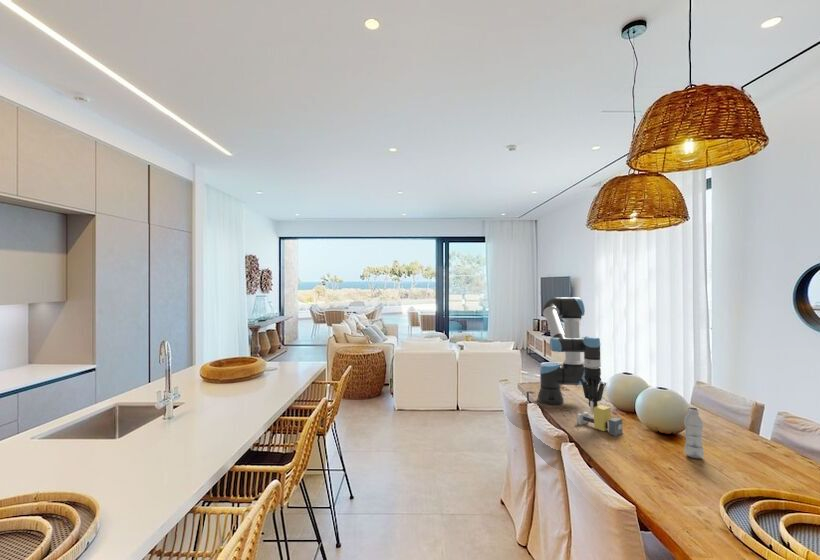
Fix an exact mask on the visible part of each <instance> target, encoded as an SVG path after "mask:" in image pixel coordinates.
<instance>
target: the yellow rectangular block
mask: <svg viewBox="0 0 820 560" xmlns="http://www.w3.org/2000/svg"><path fill="white" fill-rule="evenodd" d="M611 412H612V411H611V407H609V406H606V405H602V404H600V405H598V406H596V407H594V414H593V418H594V423H593V424H594V425H593V429H596V430H599V431H601V432H605V431H608V428H606V427H605V423H606V422H609V419H612V417H611Z"/></svg>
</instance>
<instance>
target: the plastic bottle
mask: <svg viewBox="0 0 820 560" xmlns="http://www.w3.org/2000/svg"><path fill="white" fill-rule="evenodd" d="M687 413H688V414H686V415H685V417H684V419H683V422H684V427H685V444H684V453H685V454H686V456H688V457H690V458H691V459H692V458H693V459H702V458H703V457H704V453H705V451H704V447H703V441H702V439H703V438H702V435H703V434H702V433H703V428H704V423H703V422H704V421H703V420H702V418H701V417H700V416H699V414H700V413H699V408H696V407H687Z"/></svg>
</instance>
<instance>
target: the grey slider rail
mask: <svg viewBox="0 0 820 560" xmlns="http://www.w3.org/2000/svg"><path fill="white" fill-rule="evenodd" d="M588 423H592V424H594V417H591V416H590V413H589V412H587V411H582V413H576V424H577V425H581V426H582V425H585V424H588ZM605 427H606V428H608V430H607V432H608V435H610V436H614V437H617V436H619V435H622V434H623V419H622V418H620V417H614V418H612V417H611V419H609V422H606V423H605Z"/></svg>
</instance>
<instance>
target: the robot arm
mask: <svg viewBox="0 0 820 560" xmlns="http://www.w3.org/2000/svg"><path fill="white" fill-rule="evenodd" d="M585 314H586V313H585V305H584V301H583V300H582V298H580V297H576V296H565V297H564V296H563V297H562V296H560V297H559V296H558V297H557V296H555V297H552V298H549V299H548V300H547V301H546V302H545V303H544V305H543V306H542V315H543V317H544V318H545V319H546V323H547V326H548V329H549V333H550V336H551V337H550V339H549V349H550V350H551V352H555V353H556V352H558V353H564V355H565V357H564V358H565V360H564V361H563V362H562V365H561V364H560V363H559V362H545V363H543V364H541V365H540V367H539V368H540V369H539V377H540V379H539V381H540V382H539V383H540V384H539V385H540V387H539V392H538V395H537V401H538V402H540V403H541V402H542V403H541V404H544V403H545V405H553V406H554V405H555V406H557V405H562V404H564V400H565V399H564V397H563V393H562V391H561V386H576V387H577V386H582V389H583V394H584V398H585V399H587V400H588V406H589V407H590V409H589V410H590V413H589V415H594V407H596V406H599V405H598V402H600V401H602V398H603V393H604V389H605V387H606V385H607V384H606V382H604V381H602V378H601V375H602V370H601V338H600V337H599V336H596V335H595V336H593V335H591V336H590V335H589V336H588V335H587V336H583V337H580V336H581V335H580V334H581V333H580V321H581V320H582V317H583V316H585ZM560 317H561V318H560ZM561 320H563V323H562V321H561ZM563 324H564V325H563ZM581 353H583V359H584V360H583V361H584V362H583V361H582V360H581Z"/></svg>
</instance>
